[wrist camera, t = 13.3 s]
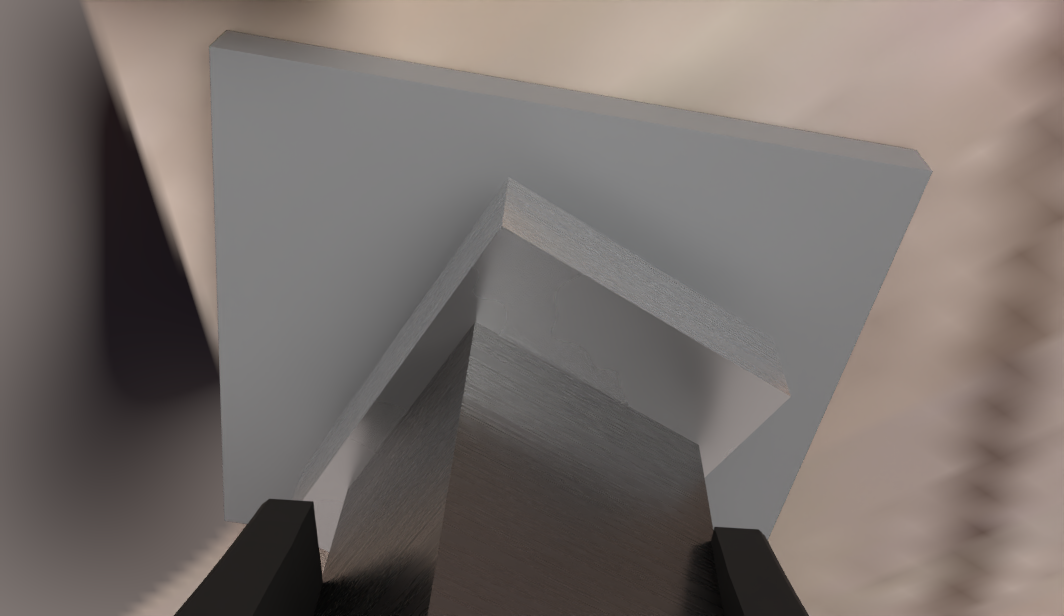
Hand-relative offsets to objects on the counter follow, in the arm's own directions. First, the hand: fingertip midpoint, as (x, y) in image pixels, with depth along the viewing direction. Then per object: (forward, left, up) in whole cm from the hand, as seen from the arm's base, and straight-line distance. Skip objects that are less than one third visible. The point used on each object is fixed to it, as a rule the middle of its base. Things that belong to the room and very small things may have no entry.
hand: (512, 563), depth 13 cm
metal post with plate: (0, 0, -3) cm, 3 cm away
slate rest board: (0, 0, -5) cm, 5 cm away
